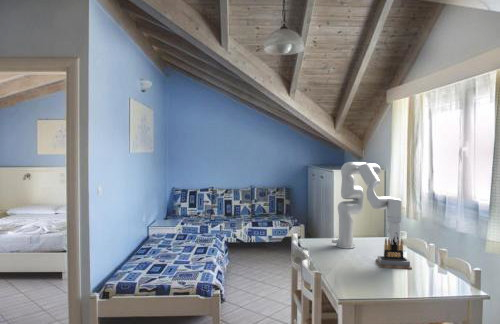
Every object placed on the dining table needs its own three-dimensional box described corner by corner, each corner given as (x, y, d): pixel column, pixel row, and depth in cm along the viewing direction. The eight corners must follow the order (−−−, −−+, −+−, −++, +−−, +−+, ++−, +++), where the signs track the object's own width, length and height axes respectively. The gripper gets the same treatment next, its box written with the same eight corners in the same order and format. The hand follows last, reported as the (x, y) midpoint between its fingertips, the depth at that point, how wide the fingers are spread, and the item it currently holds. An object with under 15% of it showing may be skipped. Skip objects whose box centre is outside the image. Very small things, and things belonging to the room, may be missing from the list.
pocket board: (380, 267, 209) (380, 261, 209) (375, 260, 223) (375, 254, 223) (411, 269, 206) (412, 263, 206) (405, 262, 220) (405, 256, 220)
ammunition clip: (384, 258, 214) (384, 238, 214) (383, 257, 216) (383, 237, 216) (403, 259, 213) (403, 238, 212) (402, 258, 215) (403, 238, 214)
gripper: (384, 216, 222) (383, 247, 223) (390, 221, 207) (389, 254, 207) (397, 217, 221) (396, 247, 222) (404, 222, 206) (403, 254, 206)
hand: (393, 250), depth 214 cm, fingers closed on ammunition clip, 1 cm apart
